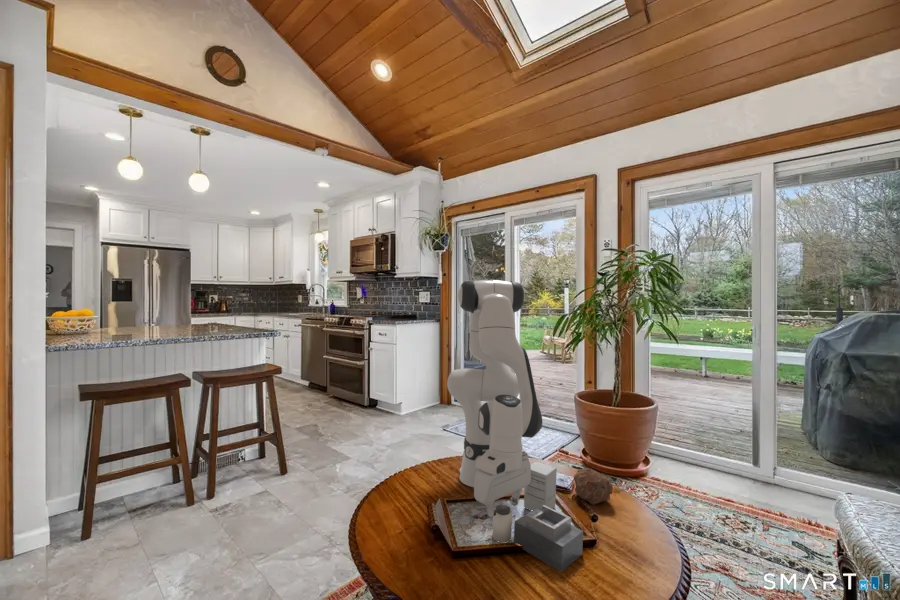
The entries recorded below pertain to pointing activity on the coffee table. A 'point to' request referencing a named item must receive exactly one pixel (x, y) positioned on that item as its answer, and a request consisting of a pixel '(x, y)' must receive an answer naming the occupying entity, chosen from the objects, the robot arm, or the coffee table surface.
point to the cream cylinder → (502, 523)
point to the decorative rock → (592, 486)
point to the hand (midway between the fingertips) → (503, 510)
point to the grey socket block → (549, 537)
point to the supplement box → (541, 487)
